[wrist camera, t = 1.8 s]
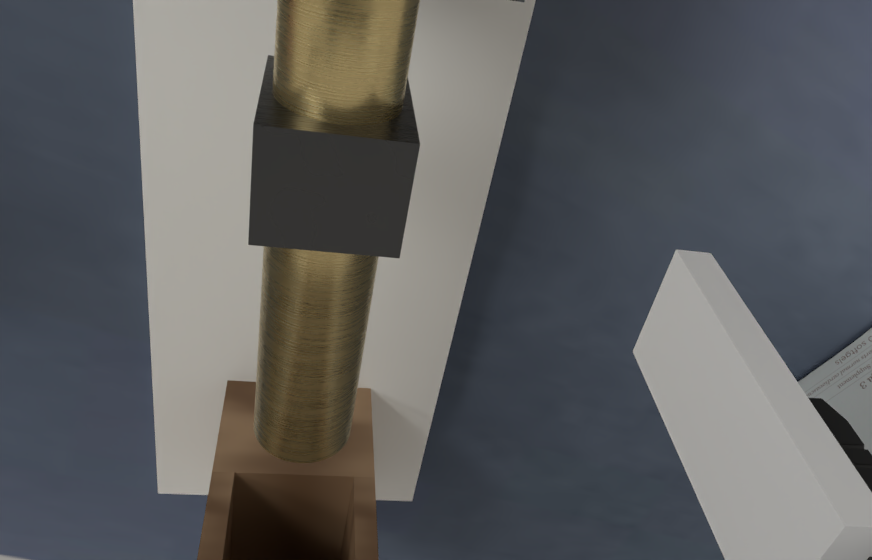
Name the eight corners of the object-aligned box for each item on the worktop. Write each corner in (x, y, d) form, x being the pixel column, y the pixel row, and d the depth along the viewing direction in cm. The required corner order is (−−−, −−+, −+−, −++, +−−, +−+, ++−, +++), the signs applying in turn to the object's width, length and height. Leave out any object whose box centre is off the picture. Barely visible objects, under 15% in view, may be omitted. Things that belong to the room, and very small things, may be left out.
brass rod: (251, 378, 25) (238, 474, 22) (322, -1015, 10) (314, -1337, 7) (357, 384, 26) (359, 478, 23) (566, -920, 11) (659, -1177, 8)
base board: (161, 476, 36) (158, 493, 36) (94, -1003, 14) (79, -1047, 13) (410, 485, 39) (411, 501, 38) (713, -774, 16) (733, -801, 15)
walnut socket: (224, 481, 36) (191, 704, 28) (227, 380, 32) (189, 603, 24) (353, 486, 37) (357, 701, 29) (370, 388, 33) (380, 604, 25)
